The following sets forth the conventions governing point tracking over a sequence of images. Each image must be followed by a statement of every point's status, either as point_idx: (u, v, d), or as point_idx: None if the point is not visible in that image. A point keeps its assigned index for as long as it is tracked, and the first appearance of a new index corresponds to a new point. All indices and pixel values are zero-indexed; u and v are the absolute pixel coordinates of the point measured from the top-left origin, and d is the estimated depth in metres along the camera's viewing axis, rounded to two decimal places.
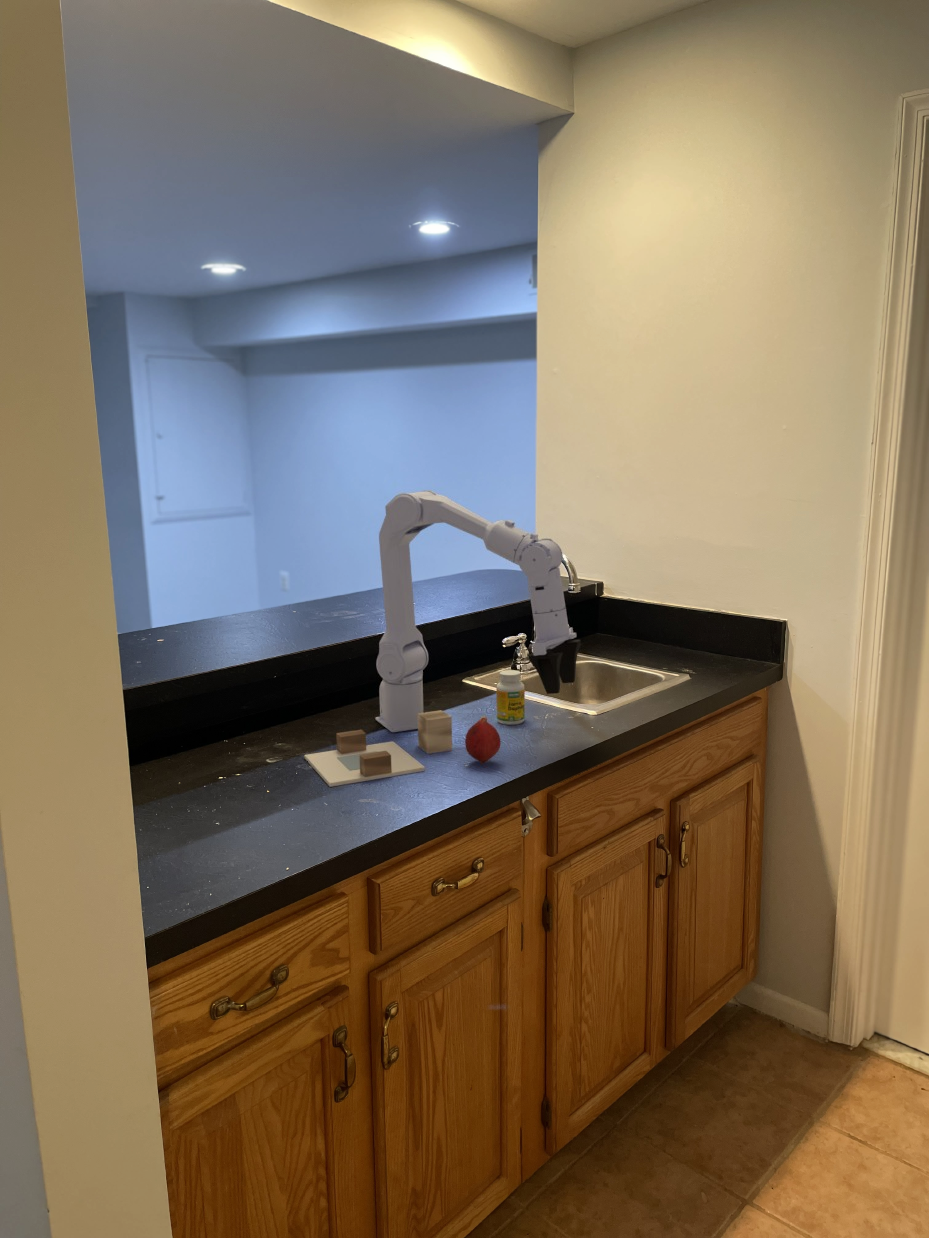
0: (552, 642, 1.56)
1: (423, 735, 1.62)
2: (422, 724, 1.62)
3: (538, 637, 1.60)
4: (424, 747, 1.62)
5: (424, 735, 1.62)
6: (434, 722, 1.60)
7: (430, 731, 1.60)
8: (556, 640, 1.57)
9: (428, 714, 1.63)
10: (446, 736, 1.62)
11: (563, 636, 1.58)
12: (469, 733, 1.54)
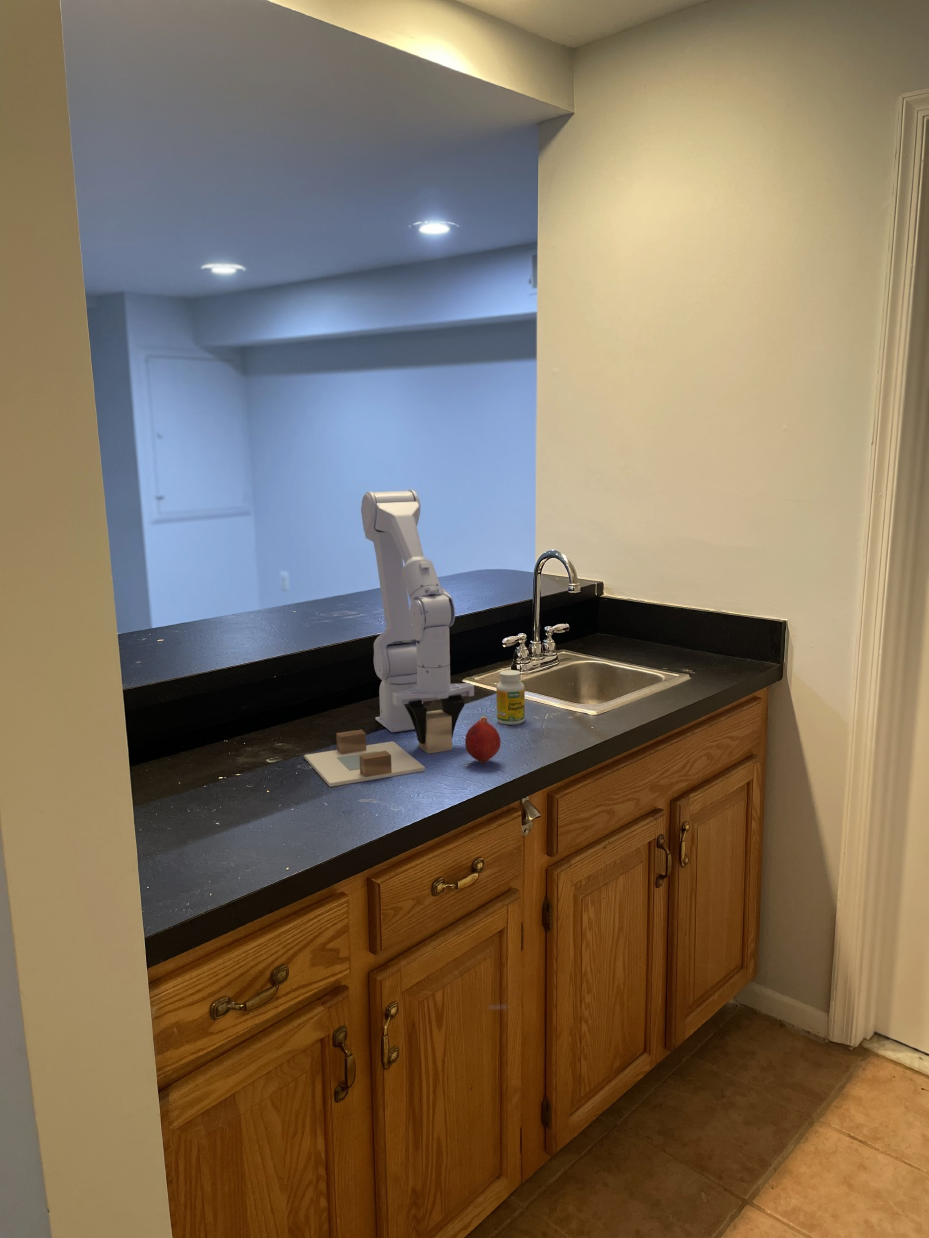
0: (412, 696, 1.59)
1: None
2: None
3: None
4: (424, 746, 1.62)
5: None
6: (434, 722, 1.60)
7: (430, 730, 1.60)
8: (419, 695, 1.59)
9: (428, 713, 1.63)
10: (446, 735, 1.62)
11: (430, 693, 1.59)
12: (469, 733, 1.54)
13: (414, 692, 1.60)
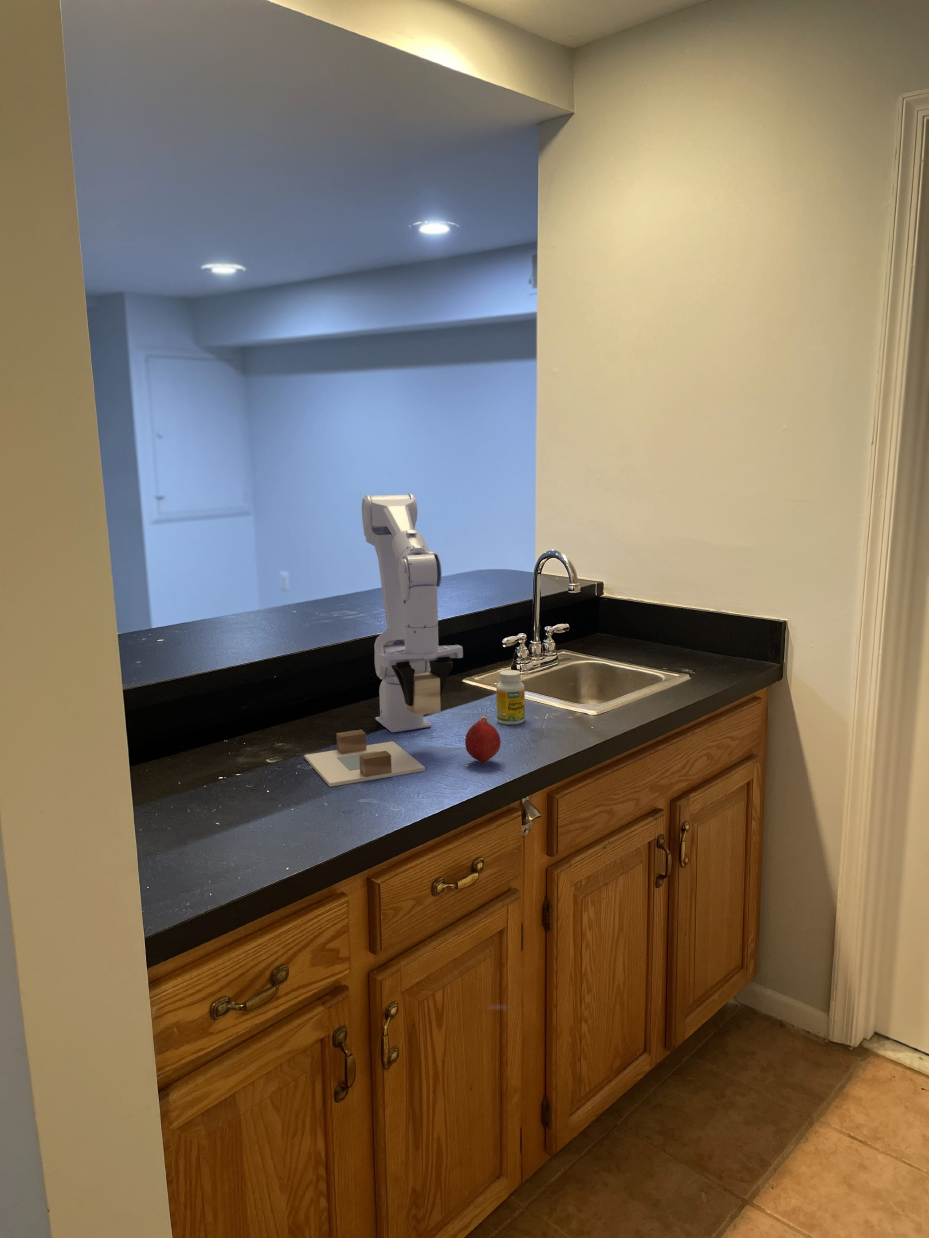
0: (400, 657, 1.56)
1: None
2: None
3: None
4: (412, 709, 1.60)
5: None
6: (422, 683, 1.58)
7: (418, 692, 1.58)
8: (406, 656, 1.56)
9: (416, 675, 1.61)
10: (434, 698, 1.59)
11: (418, 654, 1.56)
12: (469, 733, 1.54)
13: (402, 653, 1.58)
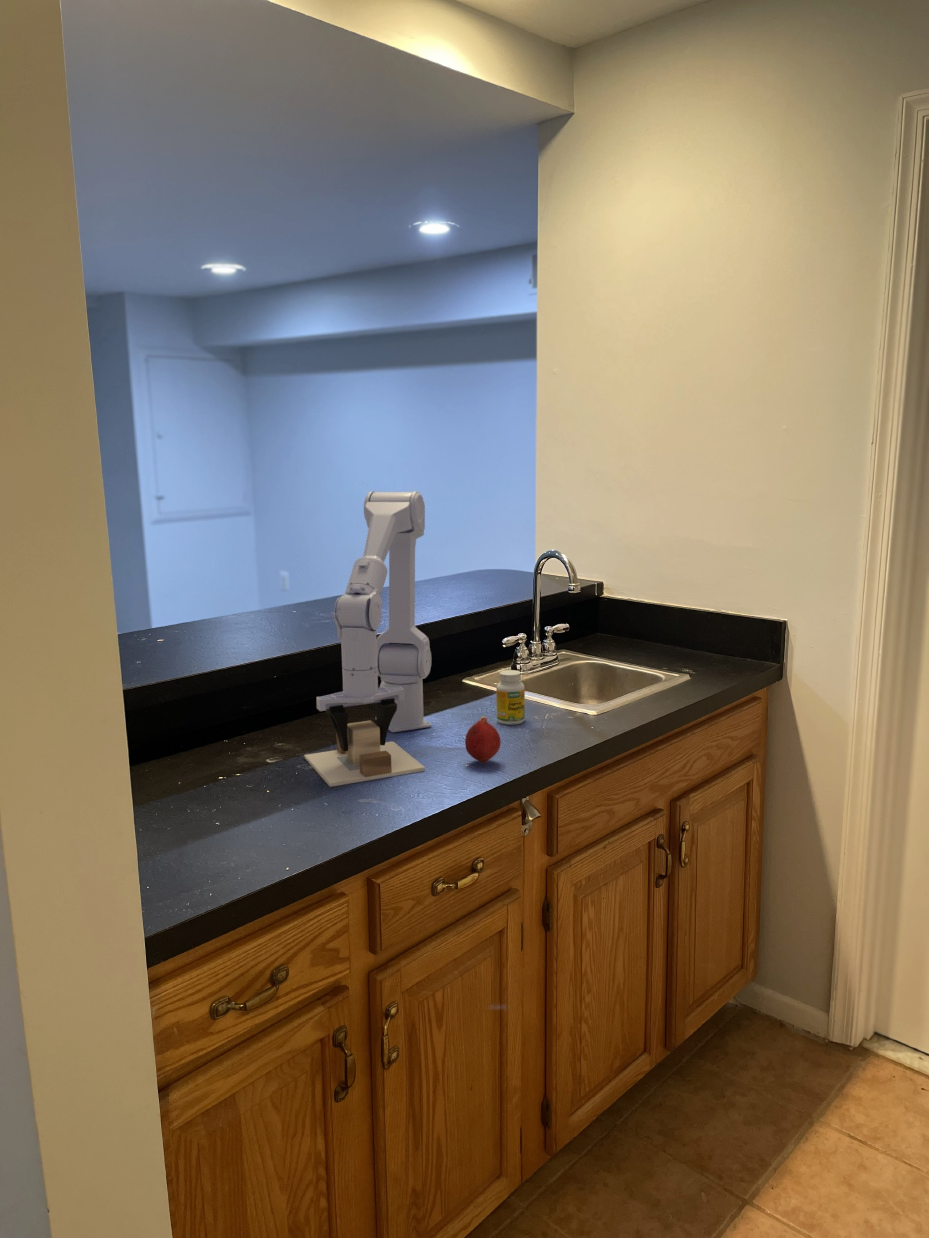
0: (337, 701, 1.50)
1: (350, 747, 1.54)
2: (349, 735, 1.54)
3: None
4: (351, 759, 1.54)
5: (351, 747, 1.54)
6: (360, 733, 1.52)
7: (357, 742, 1.52)
8: (343, 700, 1.51)
9: (356, 724, 1.55)
10: (374, 748, 1.54)
11: (355, 698, 1.51)
12: (469, 733, 1.54)
13: (339, 696, 1.52)
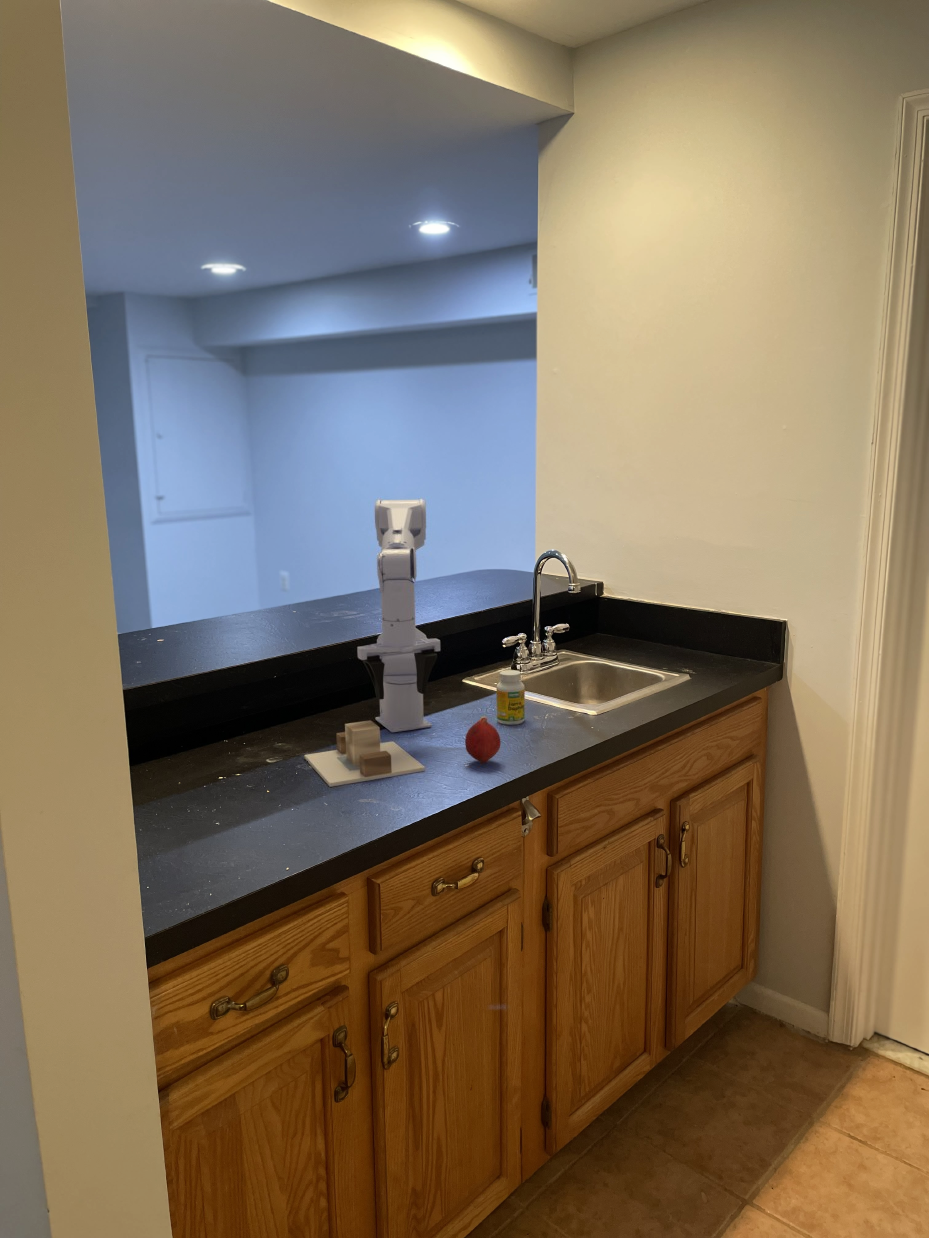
0: (377, 650, 1.58)
1: (350, 747, 1.54)
2: (349, 735, 1.54)
3: None
4: (351, 759, 1.54)
5: (351, 747, 1.54)
6: (360, 733, 1.52)
7: (357, 742, 1.52)
8: (383, 649, 1.58)
9: (356, 724, 1.55)
10: (374, 748, 1.54)
11: (395, 647, 1.58)
12: (469, 733, 1.54)
13: (379, 646, 1.60)
